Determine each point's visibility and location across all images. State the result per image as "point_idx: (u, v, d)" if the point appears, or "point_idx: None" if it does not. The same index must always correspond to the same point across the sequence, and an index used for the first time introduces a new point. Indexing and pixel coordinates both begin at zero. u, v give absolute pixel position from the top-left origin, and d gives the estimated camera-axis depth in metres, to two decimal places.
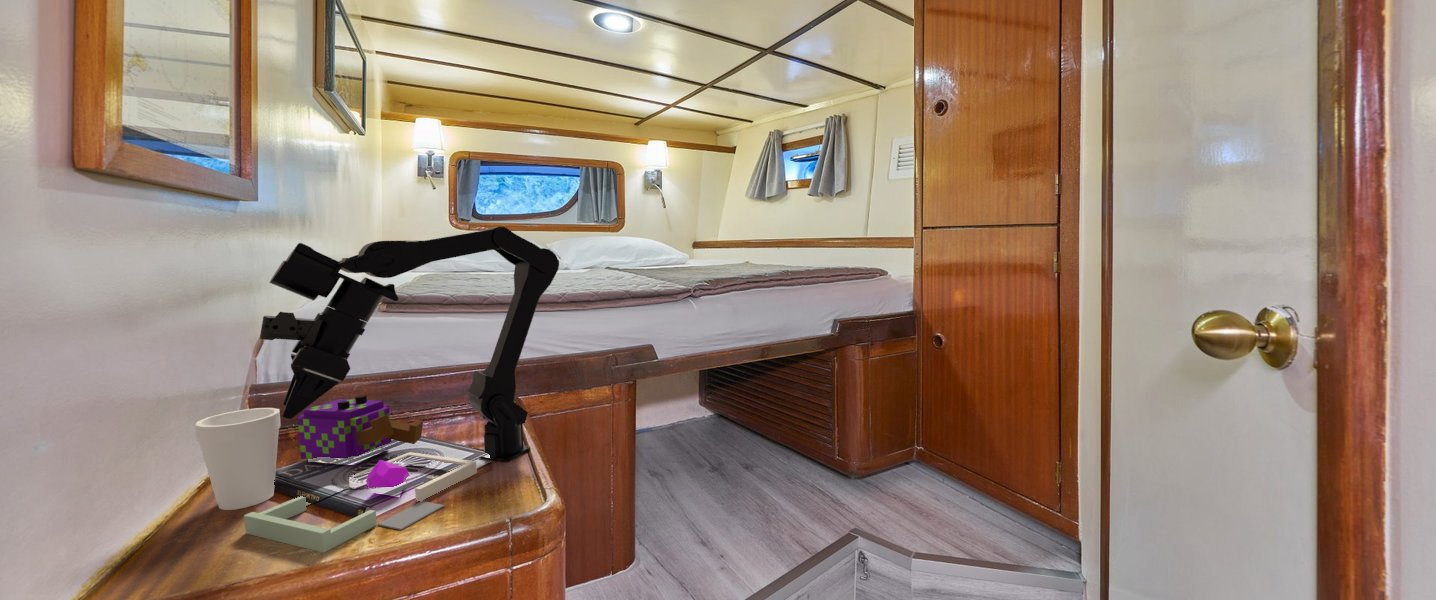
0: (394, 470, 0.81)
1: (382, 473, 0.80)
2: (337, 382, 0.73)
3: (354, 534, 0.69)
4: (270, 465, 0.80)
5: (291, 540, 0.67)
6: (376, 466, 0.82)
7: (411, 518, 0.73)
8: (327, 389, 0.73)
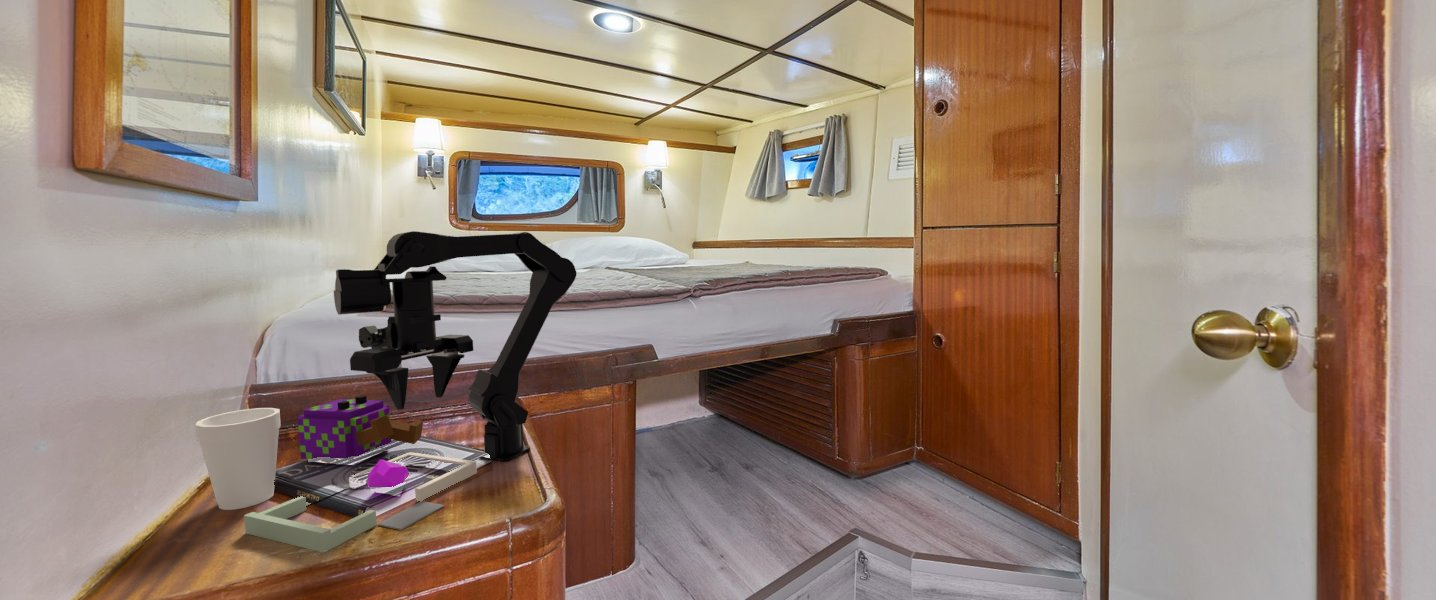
0: (394, 469, 0.81)
1: (382, 473, 0.80)
2: (391, 372, 0.79)
3: (354, 534, 0.69)
4: (270, 465, 0.80)
5: (291, 540, 0.67)
6: (376, 465, 0.82)
7: (411, 518, 0.73)
8: (397, 379, 0.80)
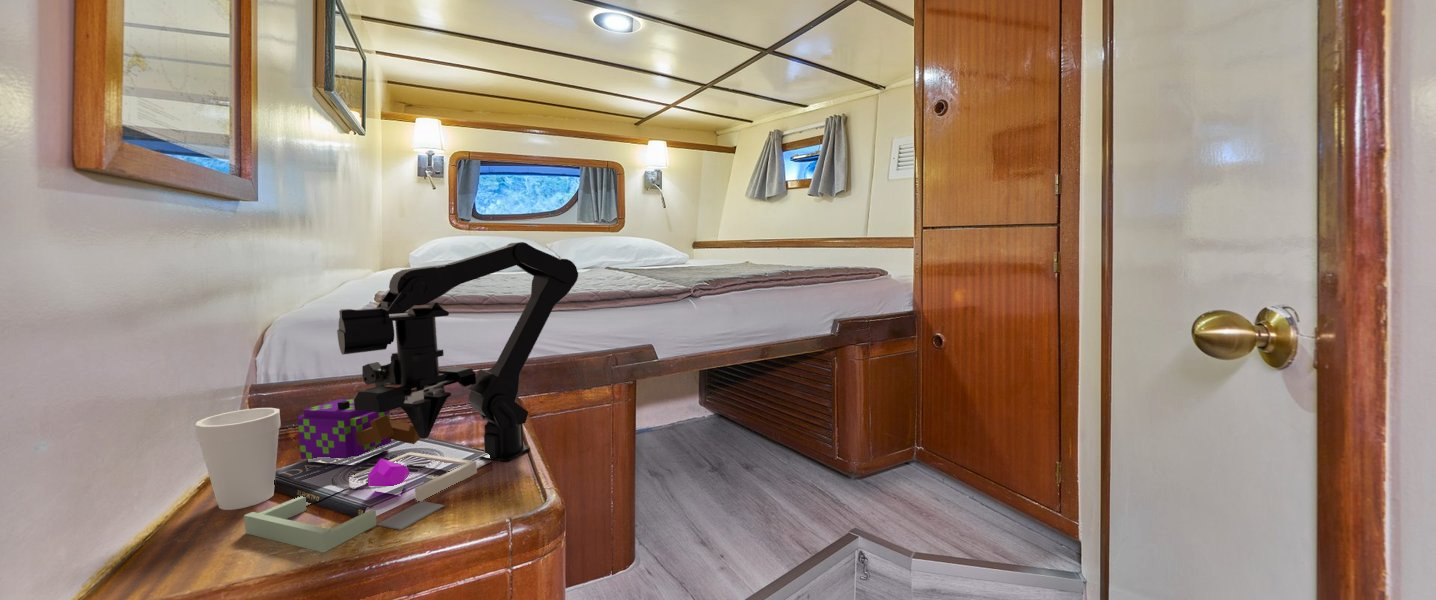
0: (395, 469, 0.81)
1: (383, 472, 0.80)
2: (415, 405, 0.82)
3: (354, 534, 0.69)
4: (270, 465, 0.80)
5: (291, 540, 0.67)
6: (377, 465, 0.82)
7: (411, 518, 0.73)
8: (420, 411, 0.84)
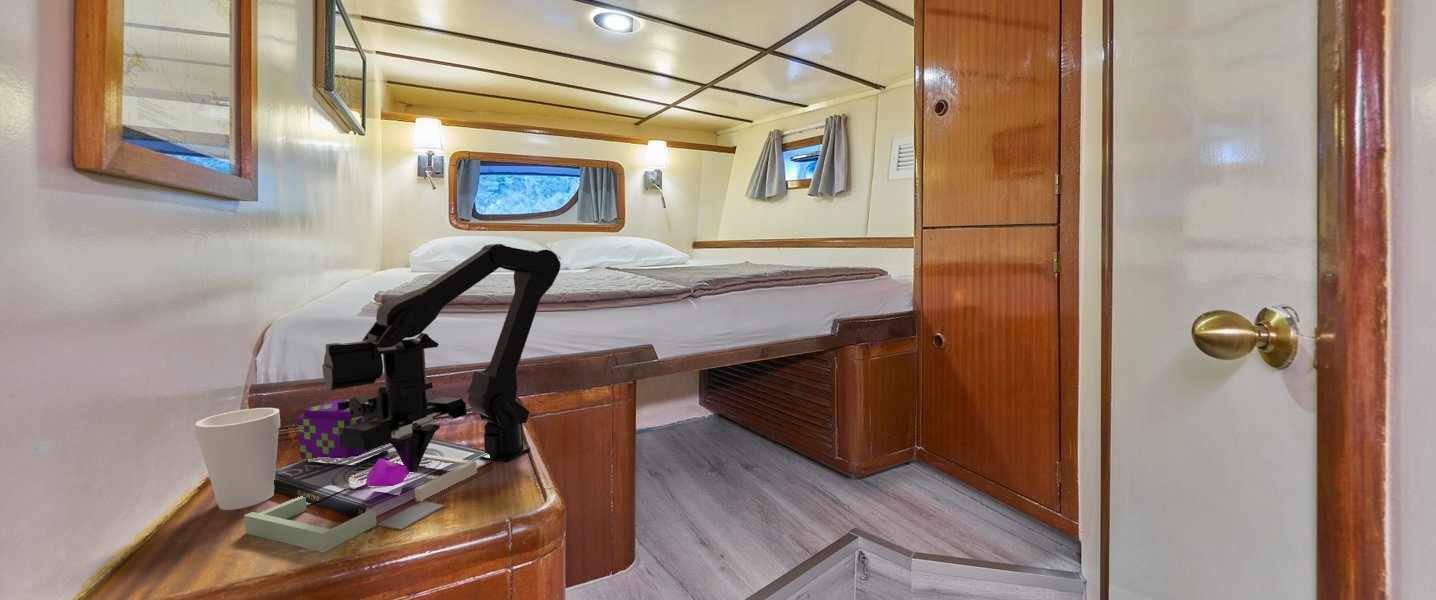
0: (394, 468, 0.81)
1: (382, 472, 0.80)
2: (402, 440, 0.81)
3: (354, 534, 0.69)
4: (270, 465, 0.80)
5: (291, 540, 0.67)
6: (376, 464, 0.82)
7: (411, 518, 0.73)
8: (408, 446, 0.82)
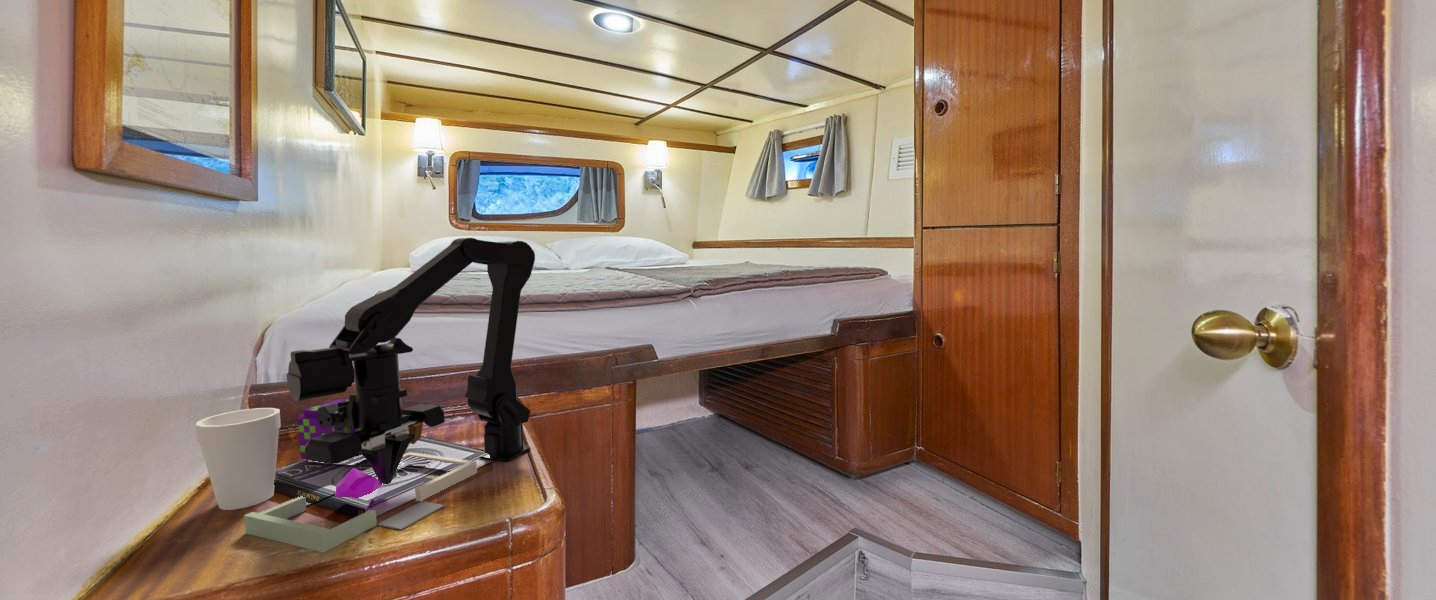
0: (362, 480, 0.77)
1: (349, 483, 0.76)
2: (374, 451, 0.76)
3: (354, 534, 0.69)
4: (270, 465, 0.80)
5: (291, 540, 0.67)
6: (347, 475, 0.78)
7: (411, 518, 0.73)
8: (381, 457, 0.78)
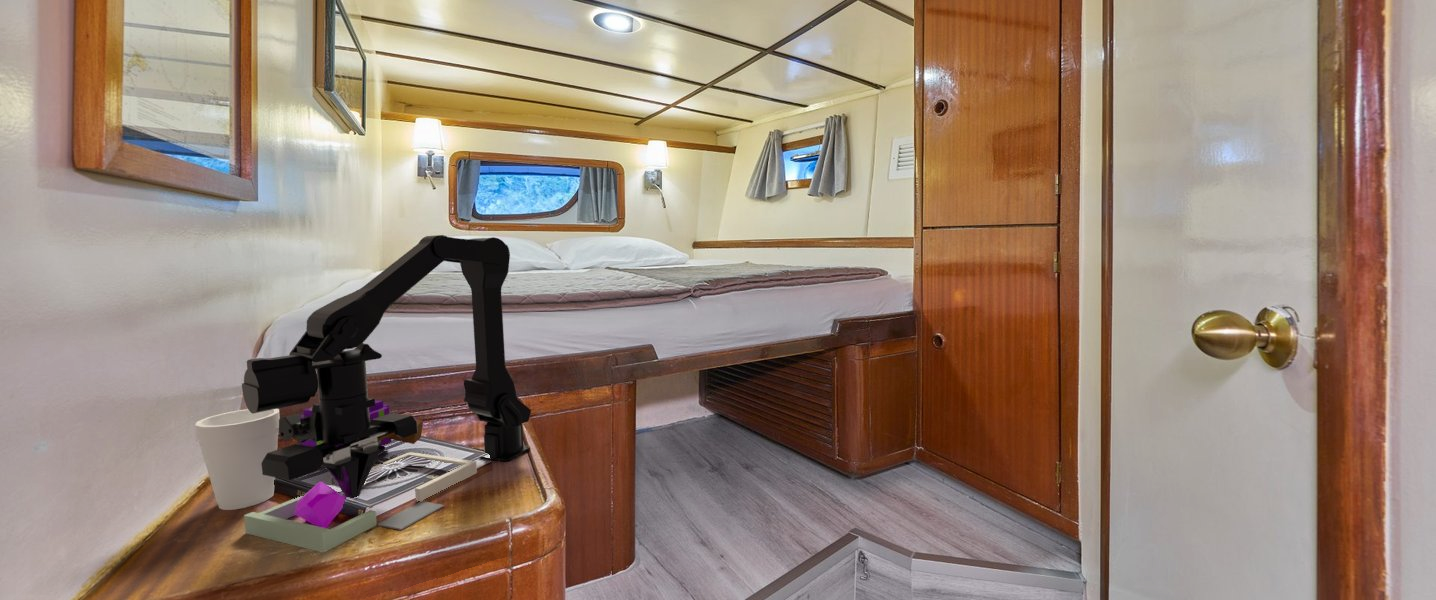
0: (323, 497, 0.72)
1: (309, 499, 0.71)
2: (337, 466, 0.71)
3: (354, 534, 0.69)
4: None
5: (291, 540, 0.67)
6: (311, 489, 0.74)
7: (411, 518, 0.73)
8: (346, 471, 0.73)
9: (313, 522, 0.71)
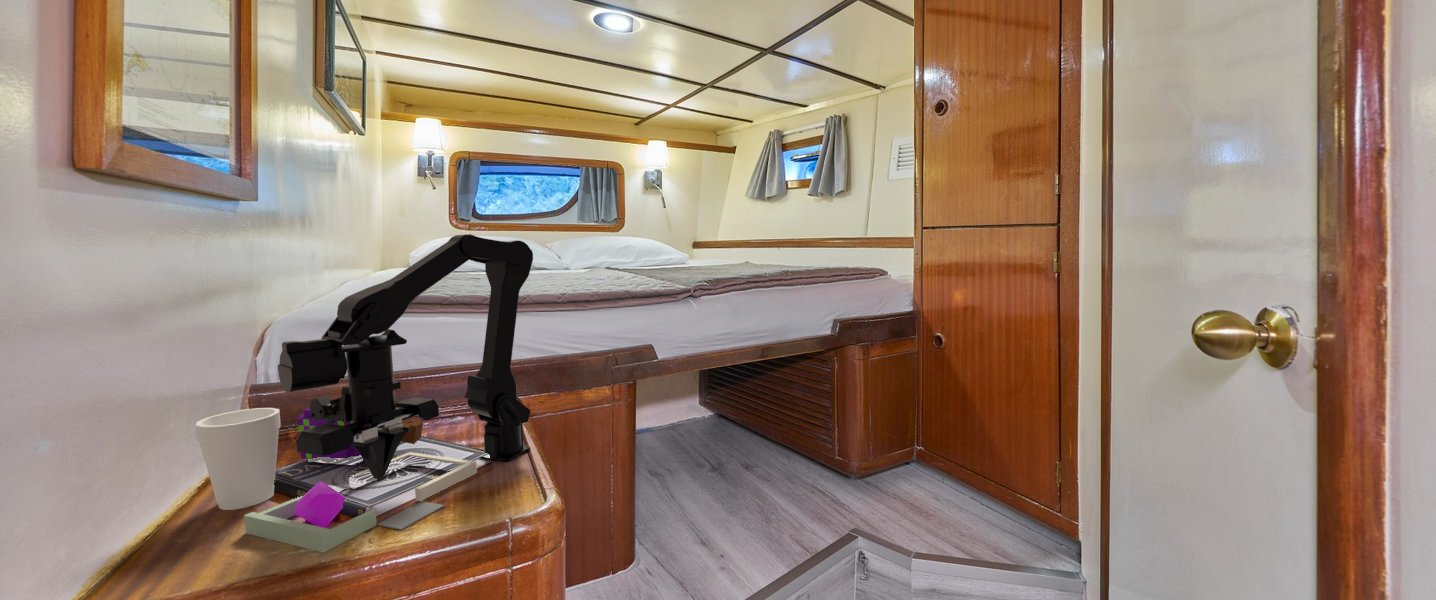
0: (322, 497, 0.72)
1: (309, 499, 0.71)
2: (366, 444, 0.75)
3: (354, 534, 0.69)
4: (270, 465, 0.80)
5: (291, 540, 0.67)
6: (311, 489, 0.74)
7: (411, 518, 0.73)
8: (373, 450, 0.77)
9: (313, 522, 0.71)
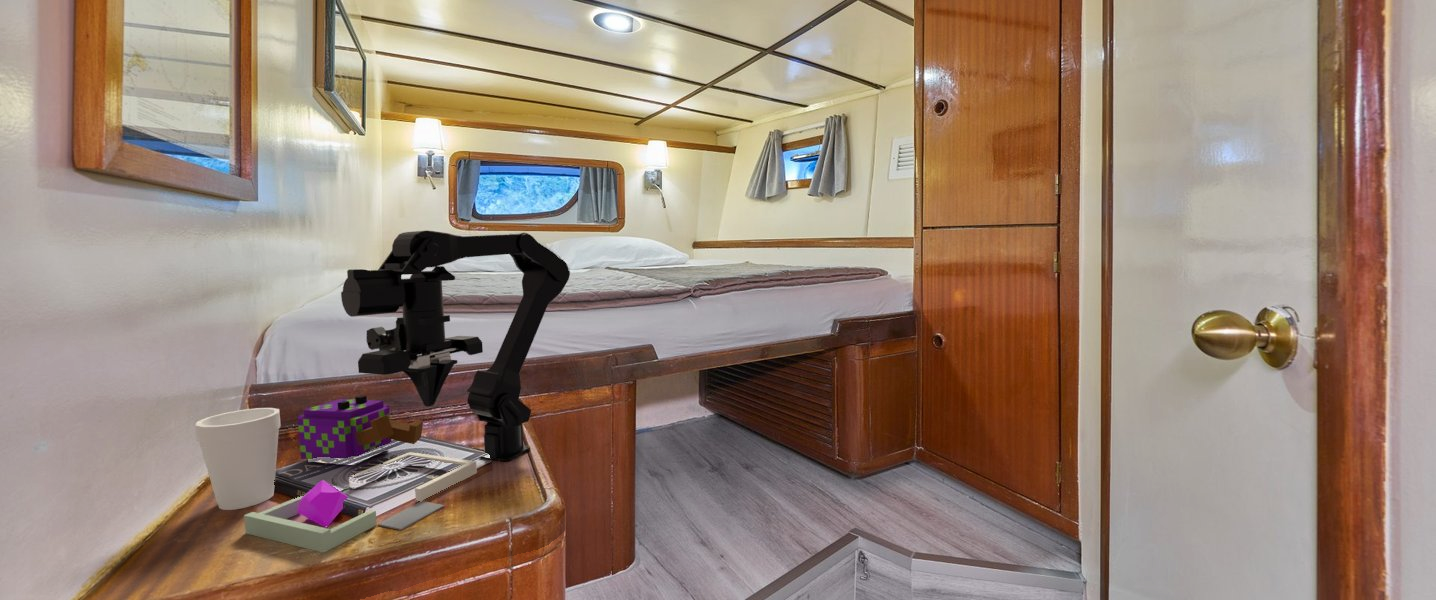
0: (325, 495, 0.72)
1: (311, 498, 0.72)
2: (420, 370, 0.80)
3: (354, 534, 0.69)
4: (270, 465, 0.80)
5: (291, 540, 0.67)
6: (314, 487, 0.74)
7: (411, 518, 0.73)
8: (426, 377, 0.82)
9: (315, 520, 0.71)
